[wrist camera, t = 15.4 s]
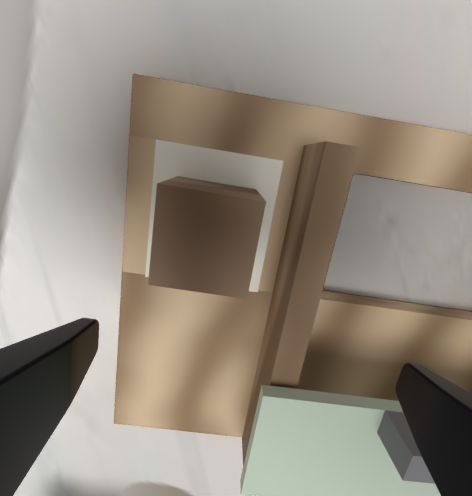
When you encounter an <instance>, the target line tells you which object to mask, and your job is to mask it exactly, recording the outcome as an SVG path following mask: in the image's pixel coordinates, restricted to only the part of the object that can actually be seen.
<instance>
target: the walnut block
mask: <svg viewBox="0 0 472 496" xmlns="http://www.w3.org/2000/svg"><path fill="white" fill-rule="evenodd" d="M265 205H266V201H265V200H264V198H263V197H262V196H261V195H260V193H259V192H258V191H257V190H256V189H252V188H246V187H240V186H234V185H228V184H222V183H216V182H210V181H204V180H198V179H192V178H187V177H181V176H177V177H174V178H171V179H168V180H165V181H162V182H160V183H157V189H156V200H155V211H154V222H153V233H152V244H151V256H150V267H149V278H148V285H152V286H159V287H166V288H173V289H180V290H187V291H194V292H201V293H208V294H215V295H222V296H228V297H235V298H242V299H247V297H248V292H249V287H250V282H251V277H252V271H253V266H254V261H255V256H256V251H257V246H258V241H259V236H260V231H261V225H262V220H263V215H264V210H265Z"/></svg>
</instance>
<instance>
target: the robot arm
mask: <svg viewBox="0 0 472 496" xmlns="http://www.w3.org/2000/svg"><path fill="white" fill-rule="evenodd" d="M98 338H99V322H98V321H97V320H96V319H89V318H81V319H78V320H76V321H73V322H71V323H68V324H65V325H63V326H60V327H57V328H55V329H52V330H49V331H47V332H44V333H41V334H39V335H36V336H33V337H31V338H28V339H25V340H23V341H20V342H17V343H15V344H12V345H9V346H7V347H4V348H1V349H0V496H13V495H14V493H15V492H16V490H17V488H18V487H19V485H20V484H21V482H22V481H23V479H24V477H25V476H26V474H27V473H28V471H29V470H30V468H31V466H32V465H33V463H34V462H35V460H36V458H37V457H38V455H39V454H40V452H41V451H42V449H43V447H44V446H45V444H46V443H47V441H48V440H49V438H50V436H51V435H52V433H53V432H54V430H55V429H56V427H57V425H58V424H59V422H60V421H61V419H62V418H63V416H64V414H65V413H66V411H67V409H68V408H69V406H70V404H71V403H72V401H73V399H74V397H75V395H76V393H77V391H78V389H79V387H80V385H81V383H82V381H83V379H84V377H85V375H86V373H87V371H88V369H89V367H90V365H91V363H92V361H93V359H94V357H95V355H96V352H97V349H98ZM395 391H396V395H397V398H398V400H399V403H400V405H401V408H402V410H403V413H404V416H405V418H406V421H407V423H408V426H409V428H410V431H411V433H412V436H413V439H414V441H415V443H416V446H417V448H418V450H419V452H420V454H421V456H422V458H423V461H424V463H425V465H426V467H427V469H428V471H429V473H430V475H431V477H432V479H433V481H434V483H435V485H436V487H437V489H438V491H439V493H440V495H441V496H472V394H471V393H470V392H468V391H466V390H464V389H463V388H461V387H459V386H457V385H455V384H454V383H452V382H450V381H448V380H447V379H445V378H443V377H441V376H440V375H438V374H436V373H434V372H433V371H431V370H429V369H427V368H426V367H424V366H422V365H419V364H413V363H406V364H404V365H403V367H402V370H401V372H400V375H399V378H398V380H397V383H396V387H395Z"/></svg>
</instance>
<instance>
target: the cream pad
mask: <svg viewBox="0 0 472 496" xmlns="http://www.w3.org/2000/svg"><path fill="white" fill-rule="evenodd" d="M283 162H284V161H282V160H276V159H270V158H264V157H258V156H252V155H246V154H240V153H234V152H228V151H222V150H216V149H210V148H204V147H198V146H192V145H186V144H180V143H174V142H168V141H162V140H156V145H155V158H154V171H153V184H152V196H151V209H150V222H149V235H148V247H147V260H146V273H145V277H149V267H150V256H151V244H152V233H153V222H154V211H155V200H156V189H157V183H160V182H162V181H165V180H168V179H171V178H174V177H177V176H181V177H187V178H192V179H198V180H204V181H210V182H216V183H222V184H228V185H234V186H240V187H246V188H252V189H256V190H257V191H258V192H259V193H260V195H261V196H262V197H263V198H264V200H265V201H266V205H265V210H264V215H263V220H262V225H261V231H260V236H259V241H258V246H257V251H256V256H255V261H254V266H253V271H252V277H251V282H250V287H249V291H251V292H258V289H259V284H260V279H261V273H262V268H263V263H264V258H265V253H266V248H267V243H268V238H269V233H270V228H271V223H272V218H273V212H274V207H275V202H276V197H277V192H278V187H279V182H280V177H281V172H282V167H283Z"/></svg>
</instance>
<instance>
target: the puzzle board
mask: <svg viewBox="0 0 472 496" xmlns="http://www.w3.org/2000/svg"><path fill="white" fill-rule="evenodd" d="M156 140H162V141H168V142H174V143H180V144H186V145H192V146H198V147H204V148H210V149H216V150H222V151H228V152H234V153H240V154H246V155H252V156H258V157H264V158H270V159H276V160H282V161H284V162H283V167H282V172H281V177H280V182H279V187H278V192H277V197H276V202H275V207H274V212H273V218H272V223H271V228H270V233H269V238H268V243H267V248H266V253H265V258H264V263H263V268H262V273H261V279H260V284H259V289H258V292H251V291H249V292H248V297H247V299H242V298H235V297H228V296H222V295H215V294H208V293H201V292H194V291H187V290H180V289H173V288H166V287H159V286H152V285H148V278H149V277H145V273H146V260H147V247H148V235H149V222H150V209H151V196H152V184H153V171H154V158H155V145H156ZM353 173H356V174H362V175H368V176H374V177H379V178H385V179H391V180H397V181H403V182H409V183H415V184H421V185H427V186H433V187H439V188H445V189H451V190H457V191H463V192H469V193H472V135H470V134H464V133H459V132H453V131H448V130H442V129H437V128H431V127H425V126H420V125H414V124H409V123H403V122H398V121H392V120H387V119H381V118H376V117H370V116H364V115H359V114H353V113H348V112H342V111H337V110H331V109H326V108H320V107H315V106H309V105H304V104H298V103H292V102H287V101H281V100H276V99H270V98H265V97H259V96H254V95H248V94H243V93H237V92H231V91H226V90H220V89H215V88H209V87H204V86H198V85H193V84H187V83H182V82H176V81H170V80H165V79H159V78H154V77H148V76H143V75H137V74H133V80H132V99H131V117H130V135H129V154H128V172H127V190H126V209H125V227H124V245H123V264H122V282H121V300H120V319H119V337H118V355H117V374H116V392H115V410H114V424H124V425H133V426H142V427H151V428H161V429H170V430H179V431H189V432H198V433H207V434H216V435H226V436H235V437H242V447H243V466H244V462H245V457H246V453H247V448H248V444H249V439H250V435H251V430H252V426H253V421H254V417H255V412H256V408H257V403H258V399H259V394H260V390H261V385H269V386H277V387H285V388H294V389H302V390H311V391H319V392H327V393H336V394H344V395H352V396H361V397H369V398H378V399H386V400H394V401H399V400H398V398H397V395H396V391H395V387H396V383H397V380H398V378H399V375H400V372H401V370H402V367H403V365H404V364H406V363H413V364H419V365H422V366H424V367H426V368H427V369H429V370H431V371H433V372H434V373H436V374H438V375H440V376H441V377H443V378H445V379H447V380H448V381H450V382H452V383H454V384H455V385H457V386H459V387H461V388H463V389H464V390H466V391H468V392H470V393H471V394H472V312H471V311H464V310H457V309H450V308H443V307H436V306H429V305H422V304H414V303H407V302H400V301H393V300H386V299H379V298H372V297H365V296H358V295H351V294H344V293H337V292H329V291H322V290H323V287H324V283H325V279H326V275H327V271H328V268H329V264H330V260H331V256H332V252H333V249H334V245H335V241H336V237H337V233H338V230H339V226H340V222H341V218H342V214H343V211H344V207H345V203H346V199H347V195H348V192H349V188H350V184H351V180H352V176H353Z"/></svg>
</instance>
